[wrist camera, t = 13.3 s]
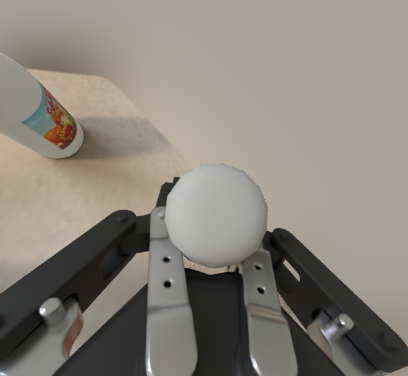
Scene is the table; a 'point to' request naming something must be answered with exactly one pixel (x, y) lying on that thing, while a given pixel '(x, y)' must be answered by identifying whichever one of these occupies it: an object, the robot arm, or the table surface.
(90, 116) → the table surface
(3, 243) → the table surface
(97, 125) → the table surface
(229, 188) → the salt shaker
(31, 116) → the milk bottle
